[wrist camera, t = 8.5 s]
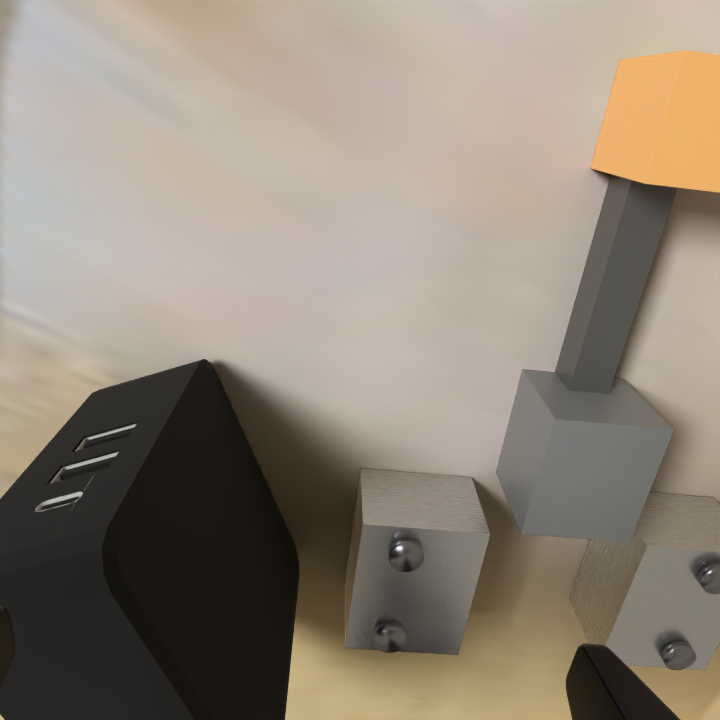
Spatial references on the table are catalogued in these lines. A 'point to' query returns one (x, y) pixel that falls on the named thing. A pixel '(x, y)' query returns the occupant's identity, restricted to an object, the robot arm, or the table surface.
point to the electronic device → (148, 564)
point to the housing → (589, 594)
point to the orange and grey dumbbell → (613, 313)
